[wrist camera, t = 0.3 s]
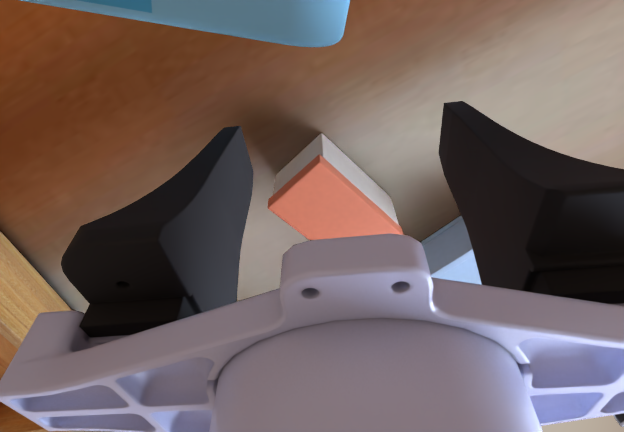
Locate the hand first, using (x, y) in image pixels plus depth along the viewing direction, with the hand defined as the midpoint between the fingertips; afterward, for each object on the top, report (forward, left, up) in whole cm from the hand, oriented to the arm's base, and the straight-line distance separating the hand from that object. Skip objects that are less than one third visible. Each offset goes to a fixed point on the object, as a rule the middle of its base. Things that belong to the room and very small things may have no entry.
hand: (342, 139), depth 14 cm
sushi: (-6, -6, -10) cm, 13 cm away
